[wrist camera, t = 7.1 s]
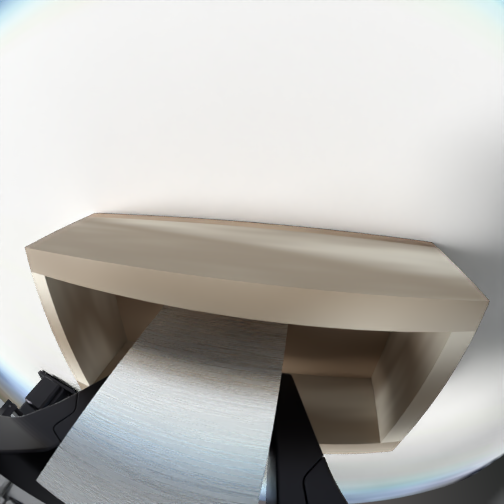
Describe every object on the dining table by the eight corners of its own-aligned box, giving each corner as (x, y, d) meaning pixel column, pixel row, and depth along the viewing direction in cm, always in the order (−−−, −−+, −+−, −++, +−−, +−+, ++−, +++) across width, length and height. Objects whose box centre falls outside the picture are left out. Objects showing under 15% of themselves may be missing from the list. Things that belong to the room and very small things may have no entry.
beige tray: (380, 381, 12) (391, 451, 8) (123, 342, 14) (83, 392, 10) (432, 242, 9) (489, 301, 5) (94, 213, 11) (24, 247, 7)
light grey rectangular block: (279, 382, 10) (240, 565, 3) (188, 366, 11) (109, 522, 4) (290, 304, 9) (239, 573, 2) (177, 289, 9) (36, 480, 2)
